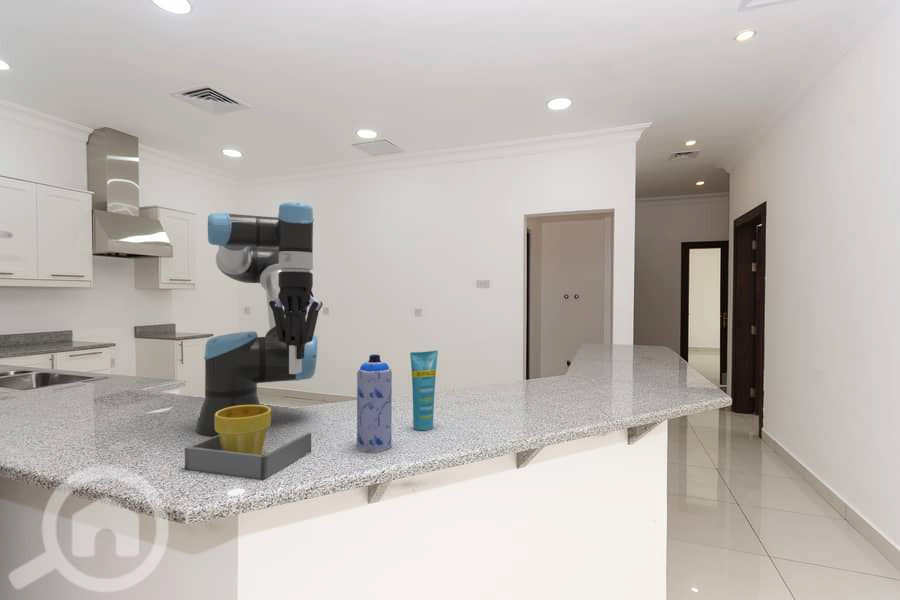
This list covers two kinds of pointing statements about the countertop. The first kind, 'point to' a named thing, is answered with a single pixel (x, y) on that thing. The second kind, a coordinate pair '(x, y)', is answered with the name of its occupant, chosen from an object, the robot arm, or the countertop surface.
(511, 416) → the countertop surface
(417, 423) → the tube
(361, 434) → the aerosol can
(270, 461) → the frame
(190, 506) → the countertop surface
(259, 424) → the plant pot
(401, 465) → the countertop surface
